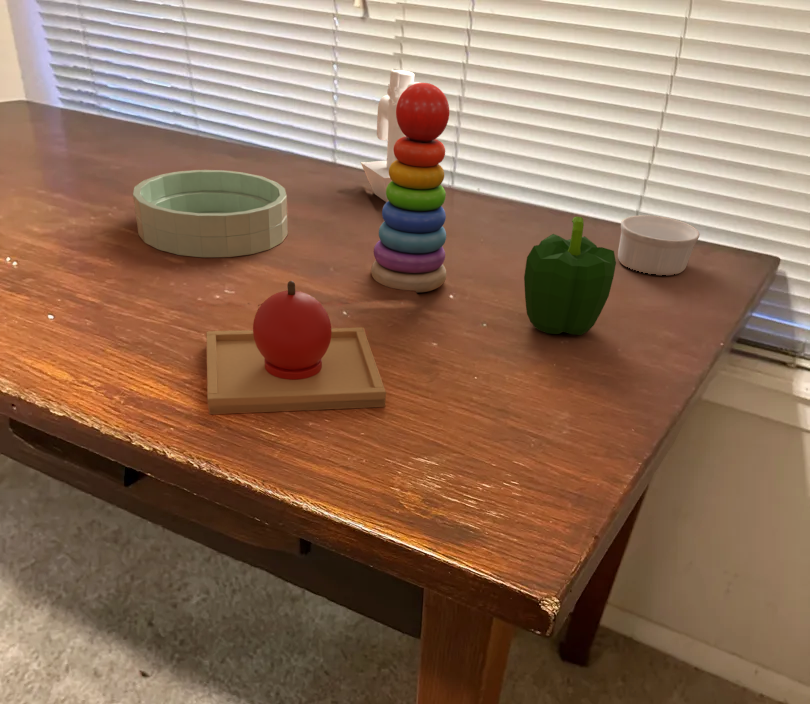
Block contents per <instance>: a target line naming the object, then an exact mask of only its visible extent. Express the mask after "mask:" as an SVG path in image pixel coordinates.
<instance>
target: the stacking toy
mask: <svg viewBox="0 0 810 704" xmlns="http://www.w3.org/2000/svg"><path fill="white" fill-rule="evenodd" d="M396 118H397V123H398V125H399V127H400V129H401V131H402V132H403V134H404V135H405V137H402V138H400V139H398V140H397V141H396V143H395V145H394V155H395V157H396V158H397V160H396V161H394V162H393V163H392V164H391V165H390V167H389V176H390V178H391V180H392V181H391V182H390V183H389V184H388V186H387V188H386V196H387V199H388V202H385V203H384V204H383V207H382V211H381V216H382V219H383V222H382V223H381V225H379V228H378V237H379V240H378V241H376V243H375V244H374V248H373V256H374V259H375V260H374V261H373V263H372V264H371V269H370V273H371V276H372V278H373V279H374V281H375V282H377V283H378V284H380V285H383V286H385V287H387V288H389V289H390V288H391V289H395V290H400V291H408V292H409V291H411V292H414V291H415V293H416V294H417V293H426V292H431V291H435V290H437V289H438V288H440V287H441V286H442V285H443V284H444V283H445V281H446V280H447V269H446V267H445V265H444V263H445V260H446V250H445V248H444V245H445V243H446V240H447V232H446V229H445V227H444V224H445V222H446V219H447V215H446V211H445V209H444V207H443V205H444V203H445V201H446V196H447V195H446V190H445V188H444V187H443V185H442V183H443V182H444V179H445V170H444V168H443V166H442V165H441V164H440V163H442V162H443V161H444V158H445V156H446V148H445V145H444V143H443V142H442V141H440V140H438V138H439V137H440V136H441V135H442V134H443V133H444V131H445V130H446V128H447V126H448V123H449V119H450V105H449V101H448V98H447V96H446V95H445V93H444V92H443V91H442V90H441V89H440V87H437V86H436V85H434V84H433V83H430V82H429V83H428V82H420V83H416V84H413V85H411V86H410V87H408V88H407V89H406V90H405V91H404V92H403V93H402V94H401V96H400V98H399V100H398V103H397V107H396Z"/></svg>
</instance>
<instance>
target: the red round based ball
mask: <svg viewBox="0 0 810 704" xmlns="http://www.w3.org/2000/svg"><path fill="white" fill-rule="evenodd" d="M331 328H332V323H331V319H330V317H329V314H328V312H327V310H326V309H325V307H324V305H322V303H321V302H320V301H318V299H317V298H315V297H313V296H312V295H310V294H308V293H307V292H303V291H300V290H296V283H295V281H293V280H288V282H287V290H283V291H278V292H276V293H274V294H272V295H269V296H268V297H267V298H266V299H264V301H263V302H262V303H261V304H260V305H259V307H258V309H257V310H256V313H255V315H254V319H253V324H252V330H253V336H254V340H255V344H256V346H257V348H258V350H259V351H260V353H261V354H262V356H263V357H264V358H265V359H264V362H265V369H266V370H267V372H268V373H270V374H271V375H273V376H275V377H278V378H282V379H290V380H298V379H305V378H309V377H312V376H314V375H316V374H318V373H319V372H320V370H321V368H322V357H323V356H324V355H325V353H326V351H327V350H328V347H329V345H330V341H331V334H332V330H331Z"/></svg>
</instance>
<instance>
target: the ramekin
mask: <svg viewBox="0 0 810 704" xmlns="http://www.w3.org/2000/svg"><path fill="white" fill-rule="evenodd" d="M700 235H701V234H700V231H699V230H698V229H697V228H695V226H693V225H691V224H689V223H687V222H684V221H681V220H679V219H676V218H675V219H674V218H670V217H665V216H658V215H647V214H646V215H645V214H641V215H638V214H637V215H631V216H627V217H625V218H623V219H622V220H621V222H620V237H619V244H618V250H617V259H618V262H619V263H620V264H621V265H623V266H624V267H625V268H627V267H628V269H629V268H630V270H632V269H633V270H632V271H634V270H636V271H635V272H637V271H639V272H638V273H641V272H643V273H642V274H645V273H648V274H647V275H651V274H656V275H655V276H662V275H666V276H675V275H678V274H680V273H682V272H683V271H685V270H686V268H687V266H688V264H689V261H690V258H691V255H692V253H693V251H694V248H695V245H696V243H697V242H698V240H699V238H700ZM674 274H675V275H674Z"/></svg>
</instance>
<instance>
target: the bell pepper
mask: <svg viewBox="0 0 810 704" xmlns="http://www.w3.org/2000/svg"><path fill="white" fill-rule="evenodd" d="M571 223H572V228H571V236H570V239H567V238H564V237H561V236H560V235H558V234H555V233H551V234H550V235H548V236H547V237H545V238H544V239H542V240H541V241H540V242H539V244H537V245H533V247H532V248H531V250H530V251H529V252H528V255H527V256H526V261H525V269H524V275H523V282H524V299H525V308H526V309H525V310H526V315H527V317H528V319H529V321H530V323H531V324H532V325H533V327H534V328H535V329H536V330H538V331H541V332H544V333H546V334H551V335H552V334H553V335H559V334H562V333H566V334H569V335H576V336H577V335H578V336H582V335H584V334H586V333H588V332H589V331H590V330H591V329H592V328H593V327H594V326H595V324H596V322H597V320H598V319H599V317H600V316H601V313H602V311H603V309H604V307H605V305H606V303H607V301H608V298H609V296H610V292H611V289H612V285H613V280H614V276H615V271H616V266H617V261H616V260H617V259H616V255H615V250H613V249H609V248H606V247H604V246H603V247H602V246H597V245H596V244H595V243H594V242H593V241H592V240H590V239H589V238H588V237H587V236H583V233H584V226H585V225H584V218H583V217H582V216H574V217H573V218H572V220H571Z"/></svg>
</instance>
